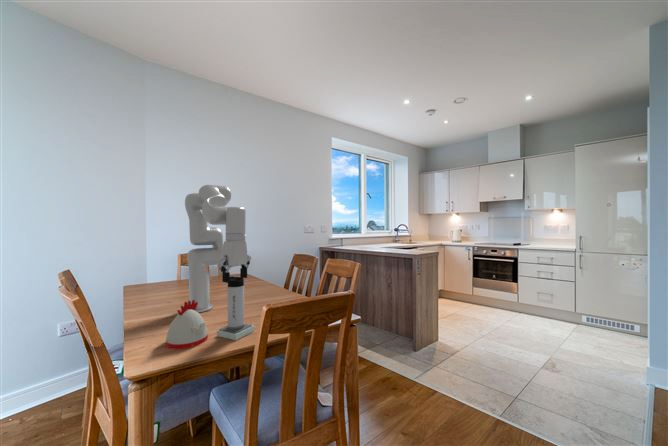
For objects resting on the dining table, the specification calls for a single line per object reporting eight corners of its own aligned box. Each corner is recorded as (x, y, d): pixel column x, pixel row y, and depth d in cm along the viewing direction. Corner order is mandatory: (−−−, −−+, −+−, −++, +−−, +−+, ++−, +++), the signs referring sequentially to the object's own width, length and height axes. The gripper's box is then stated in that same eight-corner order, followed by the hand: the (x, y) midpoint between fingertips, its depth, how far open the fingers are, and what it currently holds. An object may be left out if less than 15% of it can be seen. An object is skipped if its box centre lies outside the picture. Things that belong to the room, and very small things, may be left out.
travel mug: (236, 323, 116) (236, 275, 116) (247, 326, 113) (247, 276, 113) (223, 327, 111) (223, 277, 111) (234, 331, 108) (234, 279, 108)
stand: (216, 336, 109) (216, 329, 109) (235, 327, 118) (235, 321, 118) (236, 340, 105) (236, 333, 105) (254, 331, 114) (253, 325, 114)
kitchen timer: (215, 337, 108) (215, 298, 109) (184, 351, 96) (184, 308, 96) (190, 331, 114) (190, 295, 114) (157, 345, 101) (157, 303, 101)
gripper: (243, 236, 121) (243, 275, 122) (211, 238, 106) (210, 283, 106) (257, 236, 118) (256, 276, 118) (226, 239, 103) (225, 285, 103)
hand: (235, 279), depth 112 cm, fingers open, 9 cm apart
